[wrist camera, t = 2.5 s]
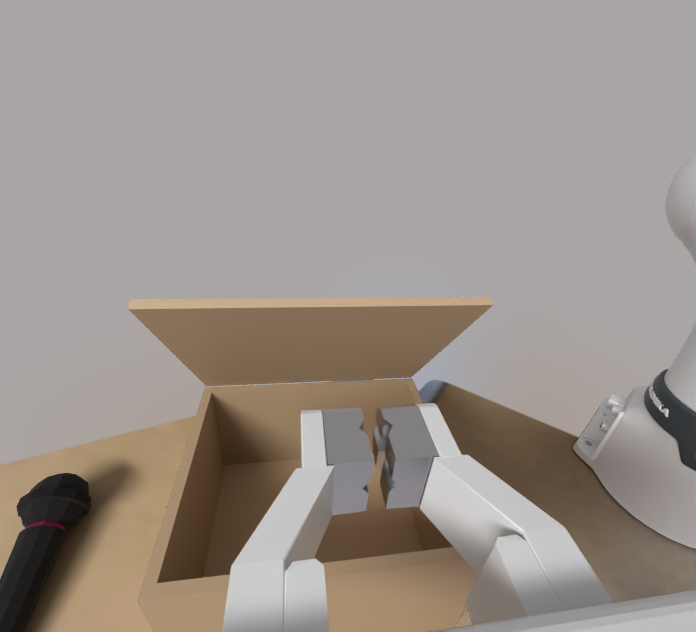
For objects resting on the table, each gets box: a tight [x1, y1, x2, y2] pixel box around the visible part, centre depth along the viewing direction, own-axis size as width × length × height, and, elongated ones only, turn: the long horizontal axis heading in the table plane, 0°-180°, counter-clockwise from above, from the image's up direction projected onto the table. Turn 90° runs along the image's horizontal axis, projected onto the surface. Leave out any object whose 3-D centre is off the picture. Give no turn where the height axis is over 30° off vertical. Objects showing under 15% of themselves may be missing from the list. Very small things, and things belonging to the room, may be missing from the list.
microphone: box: [0, 473, 91, 632], centre depth 28 cm, size 6×6×20 cm
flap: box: [128, 297, 493, 386], centre depth 29 cm, size 18×22×1 cm
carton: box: [137, 379, 478, 632], centre depth 32 cm, size 18×22×12 cm
